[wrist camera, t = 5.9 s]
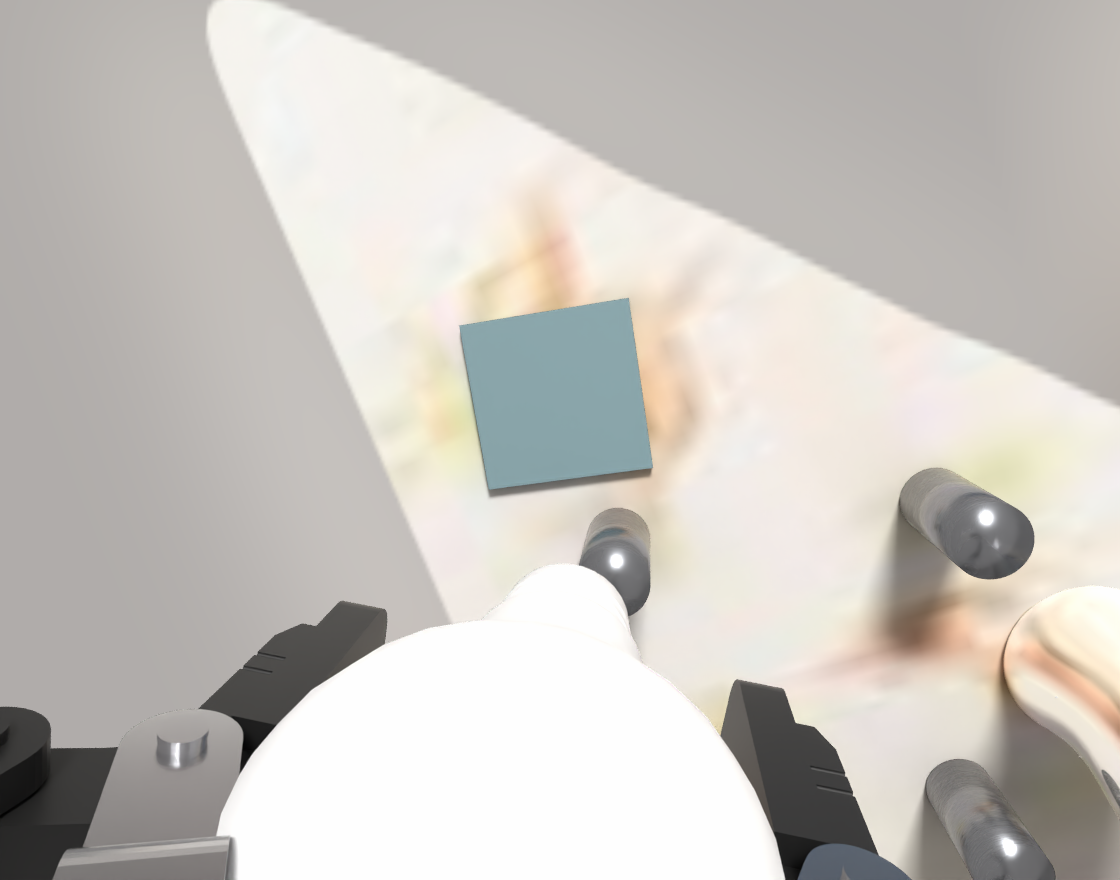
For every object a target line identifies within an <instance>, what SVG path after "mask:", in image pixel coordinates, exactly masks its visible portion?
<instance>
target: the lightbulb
mask: <svg viewBox="0 0 1120 880" xmlns="http://www.w3.org/2000/svg"><path fill="white" fill-rule="evenodd" d="M224 835H230V846H229V856H228V865H227V875H226V880H785V876H784V872H783V868H782V863H781V859H780V855H779V850H778V846H777V842H776V838H775V836H774V834H773V831H772V829H771V827H770V824H769V822H768V820H767V817H766V815H765V813H764V810H763V808H762V806H761V803H760V801H759V799H758V797H757V794H756V792H755V790H754V788H753V786H752V785H751V783H750V781H749V780H748V778H747V776H746V775H745V773H744V771H743V770H742V768H741V766H740V765H739V763H738V761H737V760H736V758H735V756H734V755H733V753H732V752H731V751H730V749H729V748H728V746H727V745H726V744H725V742H724V741H723V739H722V738H721V736H720V735H719V734H718V732H717V731H716V729H715V728H714V726H713V725H712V724H711V722H710V721H709V719H708V718H707V717H706V715H704V714H703V713H702V712H701V711H700V710H699V709H698V708H697V707H696V706H695V705H694V704H693V703H692V702H691V701H690V700H689V699H688V698H687V697H686V696H685V695H684V694H682V693H681V692H680V691H679V690H678V689H677V688H676V687H675V686H674V685H673V684H672V683H671V682H670V681H669V680H667V679H665V678H664V677H662V676H661V675H659V674H658V673H656V672H655V671H653V670H652V669H650V668H649V667H647V666H645V665H644V664H643V662H642V657H641V655H640V652H639V650H638V648H637V646H636V643H635V641H634V639H633V638H632V636H631V631H630V627H629V618H628V613H627V608H626V606H625V604H624V601H623V599H622V597H621V596H620V594H619V593H618V591H617V590H616V588H615V587H614V586H613V585H612V584H611V583H610V582H609V581H608V580H607V579H606V578H604V577H603V576H601V575H600V574H598V573H597V572H595V571H593V570H590V569H588V568H585V567H583V566H578V565H574V564H553V565H547V566H544V567H541V568H538V569H536V570H533V571H532V572H530V573H529V574H527V575H526V576H524V577H523V578H522V579H521V580H520V581H519V582H518V583H517V584H516V585H515V586H514V588H513V589H512V591H511V592H510V593H509V594H508V595H507V597H506V598H505V600H504V601H503V603H501V604H500V605H498V606H497V607H495V608H493V609H492V610H491V611H490V612H489V613H487V614H486V615H485V616H484V617H483V618H482V619H481V620H476V621H469V622H463V623H457V624H451V625H445V626H439V627H432V628H427V629H424V630H422V631H419V632H416V633H414V634H411V635H408V636H406V637H403V638H400V639H398V640H395V641H392V642H389V643H387V644H384V645H382V646H381V647H379V648H377V649H376V650H374V651H372V652H371V653H369V654H368V655H366V656H364V657H363V658H361V659H359V660H358V661H356V662H355V663H353V664H351V665H350V666H348V667H347V668H345V669H344V670H342V671H340V672H339V673H337V674H336V675H334V676H333V677H331V678H329V679H328V680H326V681H325V682H323V683H322V684H320V685H318V686H317V687H315V688H314V689H312V690H311V691H310V692H309V693H308V694H307V695H306V696H305V697H304V698H303V699H302V700H301V701H300V702H299V703H298V704H297V705H296V706H295V707H294V708H293V709H292V710H291V711H290V712H289V713H288V714H287V715H286V716H285V717H284V718H283V719H282V720H281V721H280V722H279V723H278V724H277V725H276V727H275V728H274V729H273V730H272V731H271V732H270V734H269V735H268V736H267V737H266V738H265V740H264V741H263V742H262V743H261V744H260V746H259V747H258V748H257V749H256V750H255V751H254V753H253V754H252V755H251V757H250V759H249V760H248V762H247V764H246V765H245V767H244V768H243V770H242V772H241V773H240V775H239V777H238V779H237V781H236V783H235V785H234V787H233V790H232V792H231V794H230V796H229V798H228V800H227V802H226V804H225V807H224V809H223V811H222V813H221V816H220V821H219V826H218V830H217V835H216V836H224Z"/></svg>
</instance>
